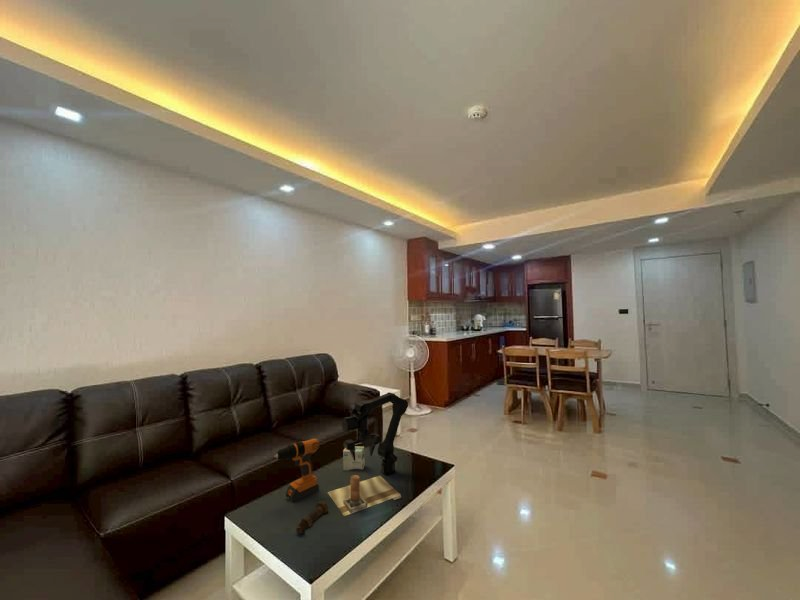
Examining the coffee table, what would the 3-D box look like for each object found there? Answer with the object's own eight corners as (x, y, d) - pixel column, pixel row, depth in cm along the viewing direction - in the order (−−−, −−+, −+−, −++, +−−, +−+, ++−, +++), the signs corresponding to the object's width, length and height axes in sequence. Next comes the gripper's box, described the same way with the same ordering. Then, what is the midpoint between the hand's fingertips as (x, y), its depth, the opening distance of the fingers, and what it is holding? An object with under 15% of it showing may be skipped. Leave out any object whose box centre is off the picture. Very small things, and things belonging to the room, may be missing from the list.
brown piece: (355, 500, 147) (355, 473, 147) (362, 504, 144) (362, 476, 145) (348, 505, 144) (347, 477, 144) (355, 509, 141) (354, 481, 141)
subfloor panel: (379, 477, 169) (379, 472, 169) (401, 497, 151) (400, 491, 151) (327, 494, 154) (327, 489, 154) (344, 519, 136) (344, 512, 136)
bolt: (297, 539, 128) (322, 515, 141) (305, 536, 126) (330, 512, 139) (291, 524, 129) (316, 502, 142) (299, 521, 127) (324, 499, 141)
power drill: (279, 511, 142) (278, 453, 143) (272, 503, 148) (271, 448, 148) (322, 491, 158) (322, 439, 158) (314, 485, 163) (314, 434, 163)
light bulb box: (364, 465, 183) (364, 446, 183) (362, 471, 176) (362, 451, 176) (346, 464, 184) (345, 445, 184) (342, 470, 177) (342, 450, 177)
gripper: (351, 436, 154) (352, 469, 154) (386, 428, 164) (386, 459, 163) (342, 429, 163) (343, 460, 163) (375, 421, 173) (376, 451, 173)
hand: (362, 458), depth 165 cm, fingers open, 9 cm apart
